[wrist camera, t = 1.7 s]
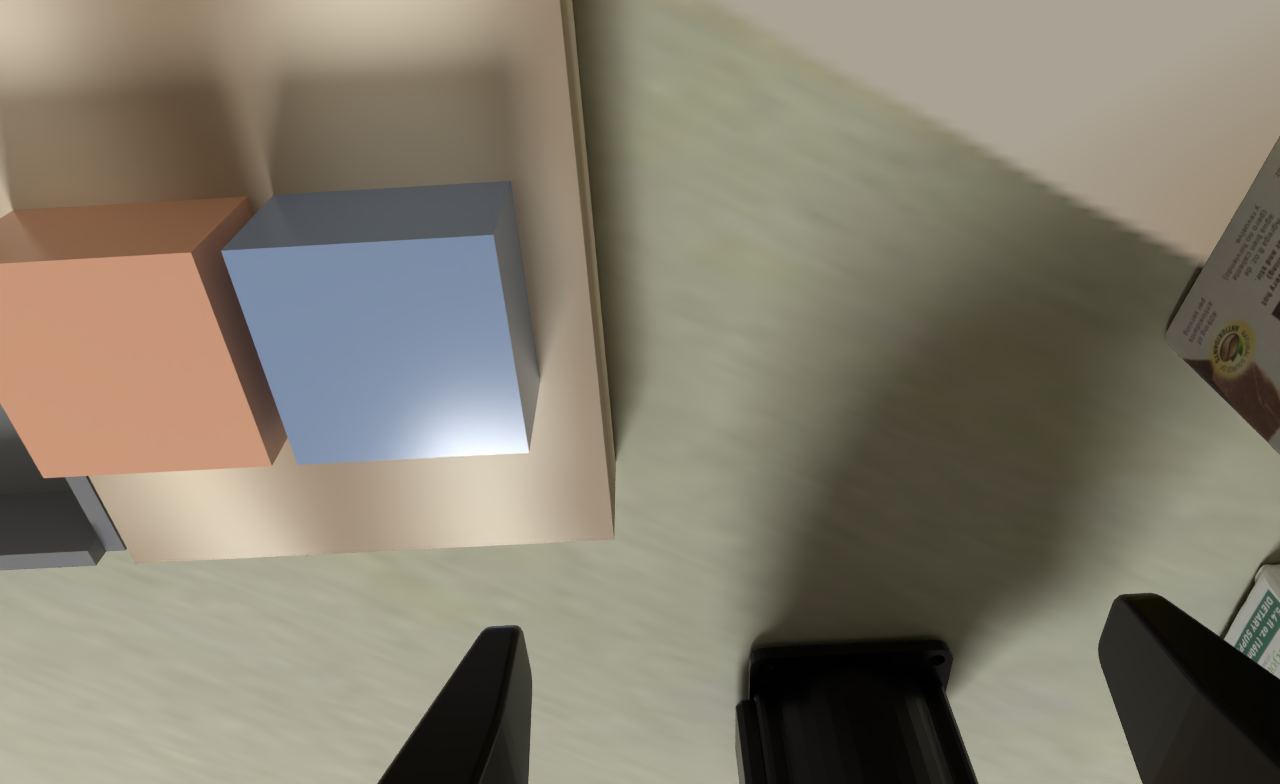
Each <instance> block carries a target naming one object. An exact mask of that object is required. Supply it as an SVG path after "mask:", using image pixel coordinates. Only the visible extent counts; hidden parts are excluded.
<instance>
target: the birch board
mask: <svg viewBox="0 0 1280 784" xmlns="http://www.w3.org/2000/svg"><path fill="white" fill-rule="evenodd" d="M498 181H511V185H512V191H513V198H514V205H515V212H516V219H517V226H518V232H519V239H520V246H521V253H522V260H523V267H524V274H525V280H526V287H527V294H528V301H529V308H530V315H531V322H532V328H533V335H534V342H535V349H536V356H537V363H538V369H539V376H540V387H539V393H538V399H537V406H536V412H535V419H534V425H533V431H532V438H531V444H530V451H529V453H515V454H496V455H476V456H457V457H438V458H419V459H400V460H381V461H362V462H343V463H324V464H305V465H297V462H296V459H295V456H294V454H293V451H292V448H291V445H290V442H289V440H288V438H287V440H286V442H285V443H284V445H283V447H282V449H281V451H280V453H279V454H278V456H277V458H276V460H275V462H274V463H273V465H272V466H267V467H248V468H229V469H209V470H190V471H171V472H152V473H133V474H114V475H95V476H89V478H90V480H91V482H92V484H93V485H94V487H95V489H96V491H97V493H98V495H99V497H100V498H101V500H102V502H103V504H104V506H105V508H106V510H107V511H108V513H109V515H110V517H111V519H112V521H113V523H114V525H115V526H116V528H117V530H118V532H119V534H120V536H121V538H122V539H123V541H124V543H125V545H126V547H127V549H128V551H129V552H130V554H131V556H132V558H133V560H134V562H135V563H155V562H175V561H195V560H215V559H235V558H255V557H275V556H295V555H315V554H335V553H355V552H375V551H395V550H415V549H435V548H455V547H475V546H495V545H515V544H535V543H555V542H575V541H595V540H614V521H615V471H616V462H615V451H614V441H613V430H612V419H611V408H610V398H609V387H608V376H607V366H606V355H605V344H604V333H603V323H602V312H601V301H600V291H599V280H598V269H597V258H596V248H595V237H594V226H593V216H592V205H591V194H590V184H589V173H588V162H587V151H586V141H585V130H584V119H583V109H582V98H581V87H580V76H579V66H578V55H577V44H576V34H575V23H574V12H573V1H572V0H0V218H2V217H3V216H5V215H6V214H8V213H9V212H11V211H13V210H29V209H46V208H62V207H79V206H96V205H113V204H129V203H146V202H163V201H180V200H197V199H213V198H230V197H247V198H248V201H249V204H250V207H251V210H252V213H253V216H254V215H255V214H256V213H257V212H258V211H259V210H260V209H261V207H262V206H263V205H264V204H265V203H266V202H267V201H268V200H269V199H270V198H271V197H272V196H273V195H280V194H297V193H314V192H331V191H347V190H364V189H381V188H398V187H415V186H431V185H448V184H465V183H482V182H498Z"/></svg>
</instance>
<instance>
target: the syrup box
mask: <svg viewBox="0 0 1280 784" xmlns="http://www.w3.org/2000/svg"><path fill="white" fill-rule="evenodd" d="M1224 640H1225V641H1226V642H1228V643H1229V644H1231V645H1232V646H1234V647H1235V648H1236V649H1238V650H1239V651H1241V652H1242V653H1243V654H1245V655H1246V656H1248V657H1249V658H1251V659H1252V660H1253V661H1255V662H1256V663H1258V664H1259V665H1261V666H1262V667H1263V668H1265V669H1266V670H1268V671H1269V672H1270V673H1272V674H1273V675H1275V676H1276V677H1278V678H1279V679H1280V564H1278V565H1263V566H1262V567H1261V568H1260V569H1259V571H1258V572H1257V574H1256V576H1255V586H1254V587H1253V589H1252V591H1251V592H1250V594H1249V596H1248V598H1247V600H1246V602H1245V603H1244V605H1243V606H1242V608H1241V609H1240V611H1239V613H1238V614H1237V616H1236V618H1235V620H1234V621H1233V623H1232V625H1231V627H1230V629H1229V631H1228V633H1227V634H1226V636H1225V638H1224Z"/></svg>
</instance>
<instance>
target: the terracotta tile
mask: <svg viewBox="0 0 1280 784" xmlns="http://www.w3.org/2000/svg"><path fill="white" fill-rule="evenodd" d="M252 217H253V213H252V210H251V207H250V204H249V201H248V198H247V197H230V198H213V199H197V200H180V201H163V202H146V203H129V204H113V205H96V206H79V207H62V208H46V209H29V210H13V211H11V212H9V213H8V214H6V215H5V216H3V217H2V218H0V403H1V405H2V407H3V409H4V410H5V412H6V414H7V416H8V417H9V419H10V421H11V423H12V424H13V426H14V428H15V430H16V431H17V433H18V435H19V436H20V438H21V440H22V442H23V443H24V445H25V447H26V449H27V450H28V452H29V454H30V456H31V457H32V459H33V461H34V463H35V464H36V466H37V468H38V469H39V471H40V473H41V475H42V476H43V478H57V477H76V476H95V475H114V474H133V473H152V472H171V471H190V470H209V469H229V468H248V467H267V466H272V465H273V463H274V462H275V460H276V458H277V456H278V454H279V453H280V451H281V449H282V447H283V445H284V443H285V442H286V440H287V438H288V437H287V434H286V431H285V428H284V426H283V423H282V420H281V417H280V414H279V412H278V409H277V406H276V403H275V400H274V398H273V395H272V392H271V389H270V386H269V384H268V381H267V378H266V375H265V372H264V370H263V367H262V364H261V361H260V359H259V356H258V353H257V350H256V347H255V345H254V342H253V339H252V336H251V333H250V331H249V328H248V325H247V322H246V319H245V317H244V314H243V311H242V308H241V305H240V303H239V300H238V297H237V294H236V291H235V289H234V286H233V283H232V280H231V277H230V275H229V272H228V269H227V266H226V263H225V261H224V258H223V255H222V252H221V250H222V249H223V248H224V247H225V246H226V245H227V244H228V243H229V242H230V241H231V239H232V238H233V237H234V236H235V235H236V234H237V233H238V232H239V231H240V230H241V229H242V228H243V227H244V226H245V225H246V223H247V222H248V221H249V220H250V219H251V218H252Z"/></svg>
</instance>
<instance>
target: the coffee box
mask: <svg viewBox="0 0 1280 784" xmlns="http://www.w3.org/2000/svg"><path fill="white" fill-rule="evenodd" d="M1166 340H1167V342H1168V344H1169V346H1170V347H1171V348H1172V349H1173V350H1174V351H1175V352H1176V353H1177V354H1178V355H1179V356H1180V357H1181V358H1182V359H1183V360H1184V361H1185V362H1187V363H1188V364H1189V365H1190V366H1191V367H1192V368H1193V369H1194V370H1195V371H1196V372H1197V373H1198V374H1199V375H1200V376H1201V377H1202V378H1203V379H1204V380H1205V381H1206V382H1207V383H1208V384H1209V385H1210V386H1211V387H1212V388H1213V389H1214V390H1215V391H1216V392H1217V393H1218V394H1219V395H1220V396H1221V397H1222V398H1223V399H1224V400H1225V401H1227V402H1228V403H1229V404H1230V405H1231V406H1232V407H1233V408H1234V409H1235V410H1236V411H1237V412H1238V413H1239V414H1240V415H1241V416H1242V417H1243V418H1244V419H1245V420H1246V421H1247V422H1248V423H1249V424H1250V425H1251V426H1252V427H1253V428H1254V429H1255V430H1256V431H1257V432H1258V433H1259V434H1260V435H1261V436H1262V437H1263V438H1264V439H1265V440H1266V441H1267V442H1268V443H1269V444H1270V445H1271V447H1272V448H1273V449H1274V450H1275V451H1277V452H1278V453H1279V454H1280V137H1279V139H1278V141H1277V142H1276V144H1275V145H1274V147H1273V149H1272V151H1271V152H1270V154H1269V156H1268V157H1267V159H1266V161H1265V163H1264V164H1263V166H1262V168H1261V170H1260V171H1259V173H1258V175H1257V177H1256V178H1255V180H1254V182H1253V184H1252V186H1251V187H1250V189H1249V191H1248V193H1247V194H1246V196H1245V198H1244V200H1243V201H1242V202H1241V204H1240V206H1239V207H1238V209H1237V211H1236V212H1235V214H1234V216H1233V218H1232V219H1231V221H1230V223H1229V224H1228V226H1227V228H1226V230H1225V232H1224V233H1223V235H1222V237H1221V238H1220V240H1219V242H1218V243H1217V245H1216V247H1215V249H1214V250H1213V252H1212V254H1211V255H1210V257H1209V259H1208V261H1207V262H1206V264H1205V266H1204V267H1203V269H1202V271H1201V273H1200V274H1199V276H1198V278H1197V279H1196V281H1195V283H1194V285H1193V286H1192V288H1191V290H1190V292H1189V293H1188V295H1187V297H1186V298H1185V300H1184V302H1183V304H1182V305H1181V307H1180V309H1179V311H1178V312H1177V314H1176V316H1175V318H1174V319H1173V321H1172V323H1171V325H1170V326H1169V328H1168V330H1167V333H1166Z"/></svg>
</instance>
